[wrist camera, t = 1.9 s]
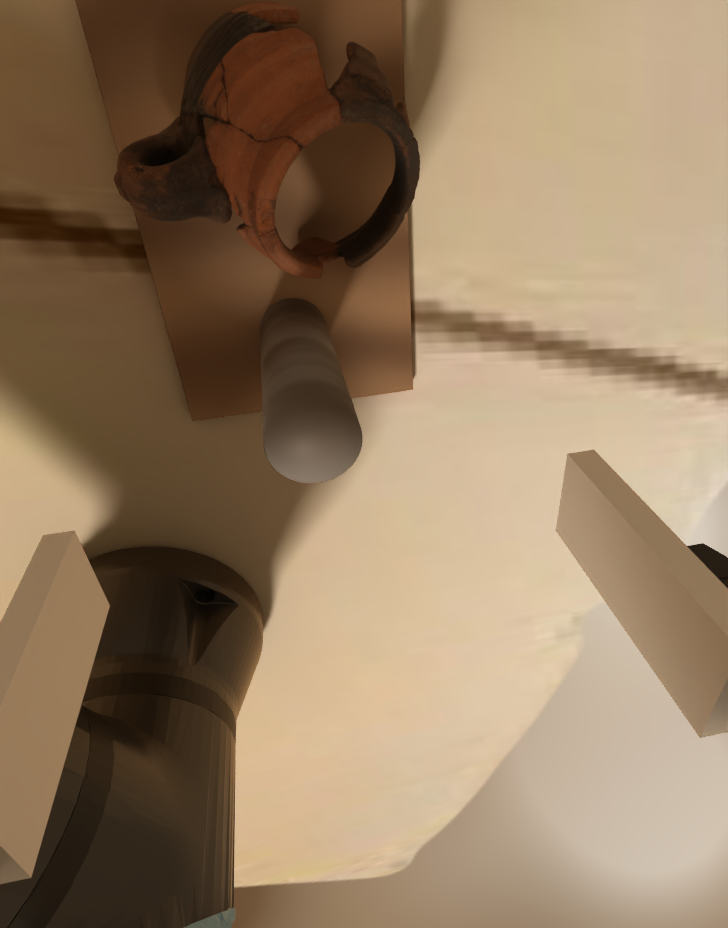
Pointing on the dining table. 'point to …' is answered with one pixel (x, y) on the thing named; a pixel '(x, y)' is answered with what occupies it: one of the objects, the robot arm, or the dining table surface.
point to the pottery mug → (266, 136)
